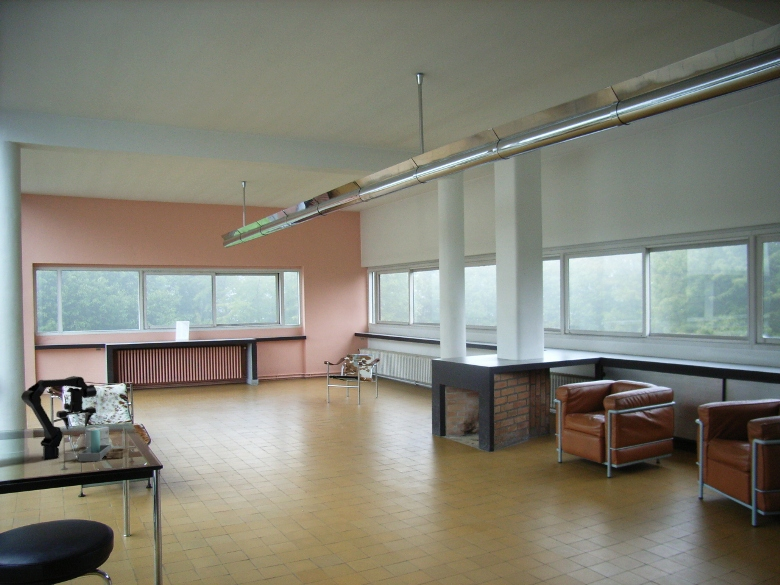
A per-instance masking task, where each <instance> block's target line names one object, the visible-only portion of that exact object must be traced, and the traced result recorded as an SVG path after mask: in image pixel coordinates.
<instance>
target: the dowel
mask: <svg viewBox="0 0 780 585" xmlns="http://www.w3.org/2000/svg"><path fill="white" fill-rule="evenodd" d="M99 452H100V430H92V431H91V453H99Z"/></svg>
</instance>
